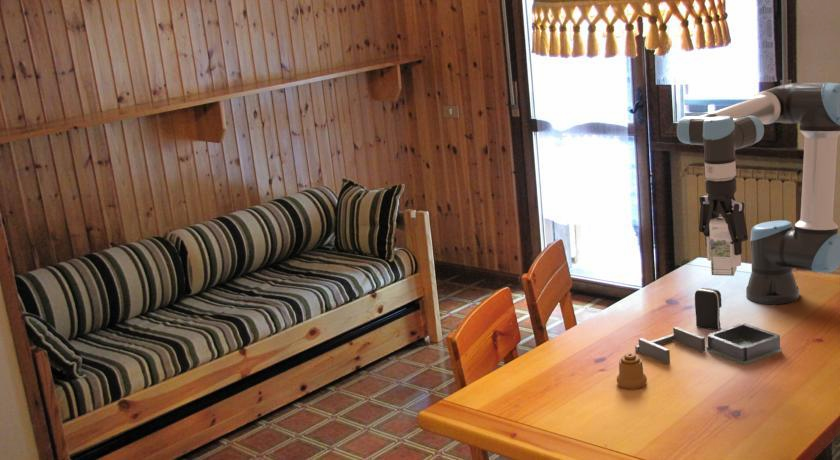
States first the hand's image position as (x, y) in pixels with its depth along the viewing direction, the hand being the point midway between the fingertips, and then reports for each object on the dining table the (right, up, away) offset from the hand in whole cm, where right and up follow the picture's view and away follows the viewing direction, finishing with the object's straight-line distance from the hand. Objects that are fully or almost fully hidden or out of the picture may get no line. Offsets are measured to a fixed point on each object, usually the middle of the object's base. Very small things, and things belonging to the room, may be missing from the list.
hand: (723, 262), depth 243 cm
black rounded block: (+4, -20, +24) cm, 31 cm away
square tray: (+7, -24, +5) cm, 25 cm away
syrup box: (0, -3, +1) cm, 3 cm away
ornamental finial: (-26, -31, -7) cm, 41 cm away
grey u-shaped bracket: (-11, -25, +10) cm, 29 cm away
